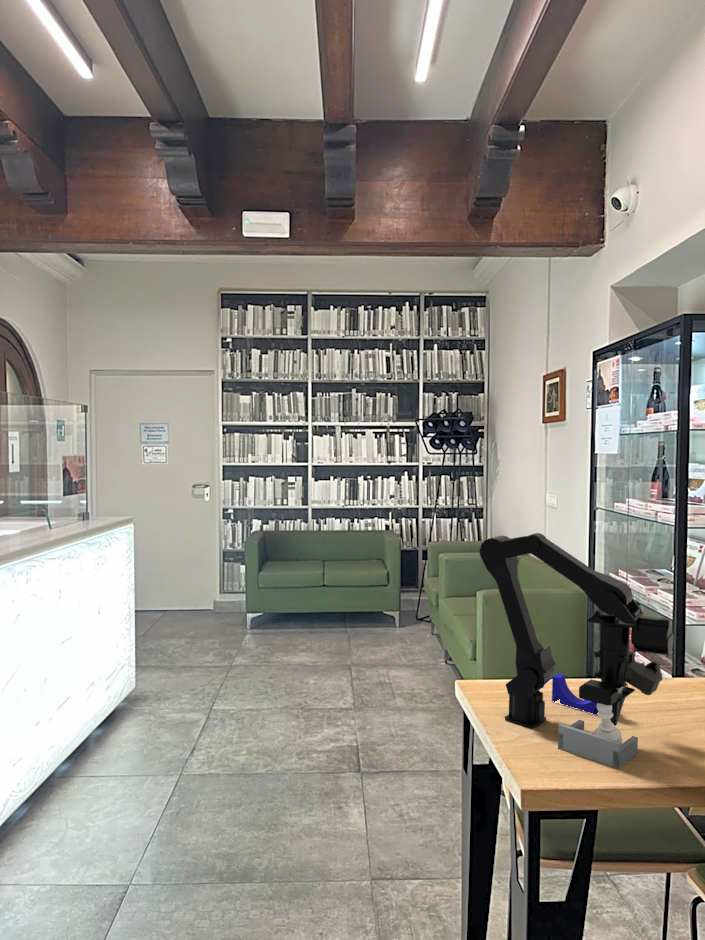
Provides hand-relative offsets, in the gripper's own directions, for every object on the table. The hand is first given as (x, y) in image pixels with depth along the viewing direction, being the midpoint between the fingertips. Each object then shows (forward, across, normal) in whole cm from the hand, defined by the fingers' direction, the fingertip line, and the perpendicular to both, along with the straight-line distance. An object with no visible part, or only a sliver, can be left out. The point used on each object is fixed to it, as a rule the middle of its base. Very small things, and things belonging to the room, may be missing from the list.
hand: (613, 725), depth 133 cm
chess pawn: (+3, -2, 0) cm, 3 cm away
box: (+3, -6, 0) cm, 7 cm away
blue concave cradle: (+4, +13, +12) cm, 18 cm away
